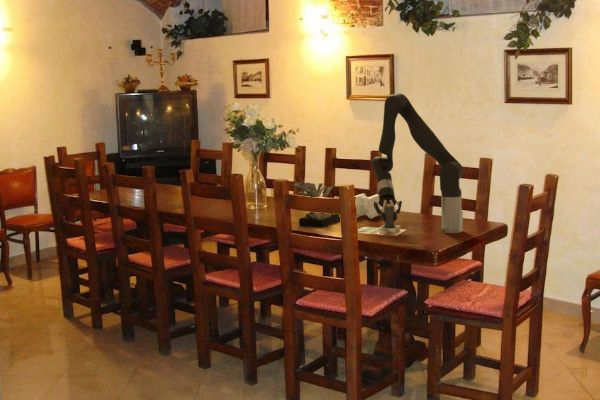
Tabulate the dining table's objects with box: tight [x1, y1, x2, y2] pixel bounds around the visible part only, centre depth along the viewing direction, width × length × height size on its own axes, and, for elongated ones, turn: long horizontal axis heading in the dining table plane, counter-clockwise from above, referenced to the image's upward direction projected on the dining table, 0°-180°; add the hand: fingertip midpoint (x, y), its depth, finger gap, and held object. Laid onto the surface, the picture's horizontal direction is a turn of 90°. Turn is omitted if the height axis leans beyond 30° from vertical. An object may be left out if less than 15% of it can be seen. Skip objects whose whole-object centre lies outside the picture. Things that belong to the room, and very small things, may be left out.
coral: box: [293, 180, 341, 228], centre depth 385 cm, size 25×20×22 cm
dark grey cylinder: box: [384, 204, 395, 228], centre depth 352 cm, size 4×4×13 cm
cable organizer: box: [354, 193, 382, 220], centre depth 398 cm, size 15×11×12 cm
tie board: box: [357, 224, 407, 237], centre depth 355 cm, size 22×14×4 cm, turn 63°
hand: (389, 220), depth 351 cm, fingers closed on dark grey cylinder, 4 cm apart
